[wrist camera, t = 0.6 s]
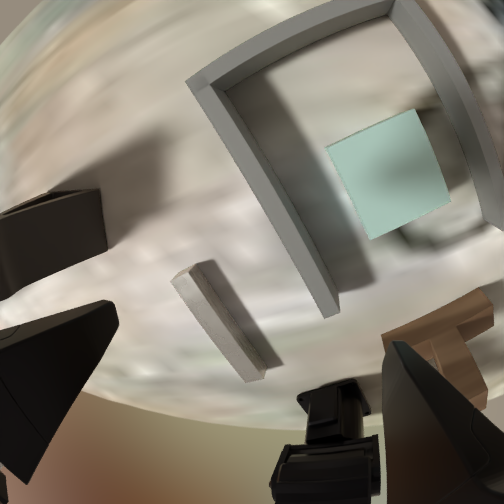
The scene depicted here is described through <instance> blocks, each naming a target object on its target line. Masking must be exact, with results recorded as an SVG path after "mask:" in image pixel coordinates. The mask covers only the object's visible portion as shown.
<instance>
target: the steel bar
mask: <svg viewBox="0 0 504 504" xmlns="http://www.w3.org/2000/svg"><path fill="white" fill-rule="evenodd" d="M170 282H171V283H172V285H173V286H174V288H175V289H176V291H177V292H178V294H179V295H180V296H181V298H182V299H183V301H184V302H185V304H186V305H187V306H188V308H189V309H190V311H191V312H192V314H193V315H194V316H195V318H196V319H197V320H198V322H199V323H200V325H201V326H202V327H203V329H204V330H205V331H206V333H207V334H208V335H209V337H210V338H211V339H212V341H213V342H214V343H215V345H216V346H217V347H218V349H219V350H220V351H221V352H222V354H223V355H224V356H225V358H226V359H227V360H228V361H229V363H230V364H231V365H232V366H233V368H234V369H235V370H236V371H237V373H238V374H239V375H240V376H241V378H242V379H243V380H244V381H245V383H248V382H252V381H257V380H261V379H264V377H265V373H266V369H267V365H266V364H265V363H264V361H263V360H262V359H261V357H260V356H259V354H258V353H257V352H256V350H255V349H254V348H253V346H252V345H251V343H250V342H249V341H248V339H247V338H246V336H245V335H244V333H243V332H242V331H241V329H240V328H239V326H238V325H237V323H236V322H235V321H234V319H233V318H232V316H231V315H230V313H229V312H228V310H227V309H226V307H225V306H224V305H223V303H222V302H221V300H220V299H219V297H218V296H217V294H216V293H215V291H214V290H213V288H212V287H211V285H210V284H209V282H208V281H207V279H206V278H205V276H204V275H203V273H202V271H201V270H200V268H199V267H198V265H197V264H194V265H192V266H190V267H188V268H186V269H184V270H182V271H180V272H179V273H178V274H177V275H176V276H175V277H174V278H173V279H172V280H171V281H170Z"/></svg>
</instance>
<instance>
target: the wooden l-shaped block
mask: <svg viewBox="0 0 504 504" xmlns="http://www.w3.org/2000/svg"><path fill="white" fill-rule="evenodd" d="M493 326H494V314H493V304H492V303H491V302H490V300H489V299H488V298H487V297H486V296H485V294H484V293H483V292H482V291H481V290H480V288H479V287H478V288H476V289H474V290H473V291H471V292H469V293H467V294H465V295H464V296H462V297H460V298H458V299H456V300H454V301H453V302H451V303H449V304H447V305H445V306H443V307H441V308H439V309H437V310H435V311H433V312H431V313H429V314H427V315H425V316H422V317H420V318H418V319H416V320H414V321H412V322H409V323H407V324H405V325H403V326H400V327H398V328H396V329H394V330H391V331H389V332H386V333H384V334H382V335H381V337H382V341H383V345H384V349H385V354H386V352H387V349H388V346H389V343H390V342H391V341H392V340H403V341H405V342H406V343H407V344H408V345H410V346H411V347H412V348H413V349H414V350H415V351H416V352H417V353H418V354H420V355H421V356H422V357H423V358H424V359H425V360H426V361H428V360H430V359H432V358H434V360H435V362H436V365H437V368H438V370H439V373H440V374H441V375H442V376H444V377H445V378H446V379H447V380H448V381H449V382H450V383H451V384H452V385H453V386H454V387H455V388H456V389H457V390H458V391H460V392H461V393H462V394H463V395H464V396H465V397H466V398H467V399H468V400H469V401H470V402H471V403H472V404H473V405H474V408H475V407H476V408H477V409H478V410H479V411H481V410H483V409H485V408H486V404H487V396H488V388H487V386H486V384H485V382H484V379H483V377H482V375H481V373H480V371H479V369H478V367H477V365H476V363H475V361H474V359H473V357H472V355H471V353H470V351H469V349H468V347H467V345H466V343H465V342H466V341H468V340H470V339H472V338H474V337H475V336H477V335H479V334H481V333H483V332H484V331H486V330H488V329H489V328H491V327H493Z"/></svg>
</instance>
